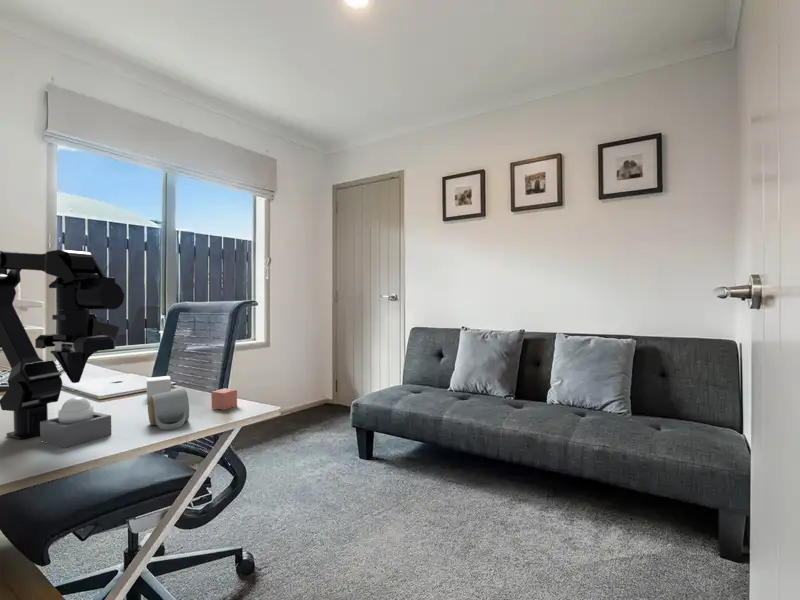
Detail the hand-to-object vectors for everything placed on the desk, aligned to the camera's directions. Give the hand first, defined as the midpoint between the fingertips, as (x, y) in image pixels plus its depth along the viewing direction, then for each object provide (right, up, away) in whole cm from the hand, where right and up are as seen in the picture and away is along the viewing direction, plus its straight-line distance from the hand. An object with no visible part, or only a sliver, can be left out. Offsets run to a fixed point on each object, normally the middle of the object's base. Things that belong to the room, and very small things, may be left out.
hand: (75, 382), depth 92 cm
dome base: (0, -12, 0) cm, 12 cm away
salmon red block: (+22, -11, +24) cm, 35 cm away
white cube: (-2, -12, +35) cm, 37 cm away
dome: (0, -8, 0) cm, 8 cm away
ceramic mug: (+15, -12, +10) cm, 22 cm away
